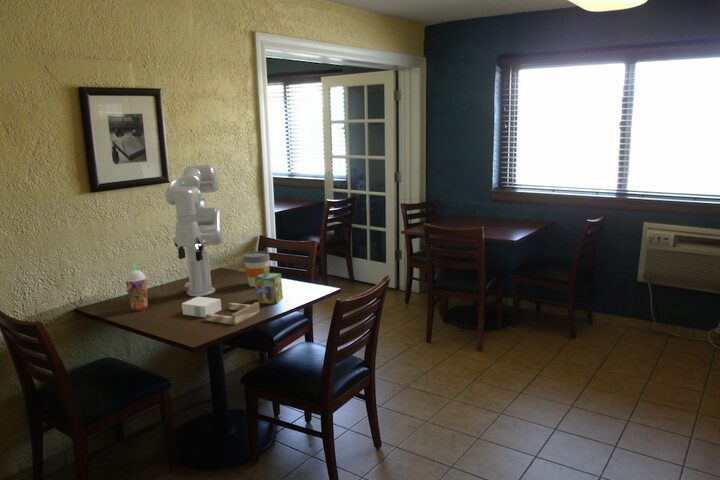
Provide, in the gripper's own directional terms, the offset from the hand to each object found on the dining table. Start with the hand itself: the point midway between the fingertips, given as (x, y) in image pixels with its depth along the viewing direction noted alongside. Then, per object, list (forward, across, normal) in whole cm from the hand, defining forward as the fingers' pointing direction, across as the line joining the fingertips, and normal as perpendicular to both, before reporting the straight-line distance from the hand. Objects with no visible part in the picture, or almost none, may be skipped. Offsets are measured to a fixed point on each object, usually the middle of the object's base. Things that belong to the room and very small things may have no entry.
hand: (190, 259), depth 240 cm
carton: (+22, +6, -2) cm, 23 cm away
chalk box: (+22, +24, +21) cm, 38 cm away
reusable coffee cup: (+22, +2, +40) cm, 45 cm away
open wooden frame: (+22, +22, -1) cm, 31 cm away
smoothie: (+22, -23, -10) cm, 33 cm away
